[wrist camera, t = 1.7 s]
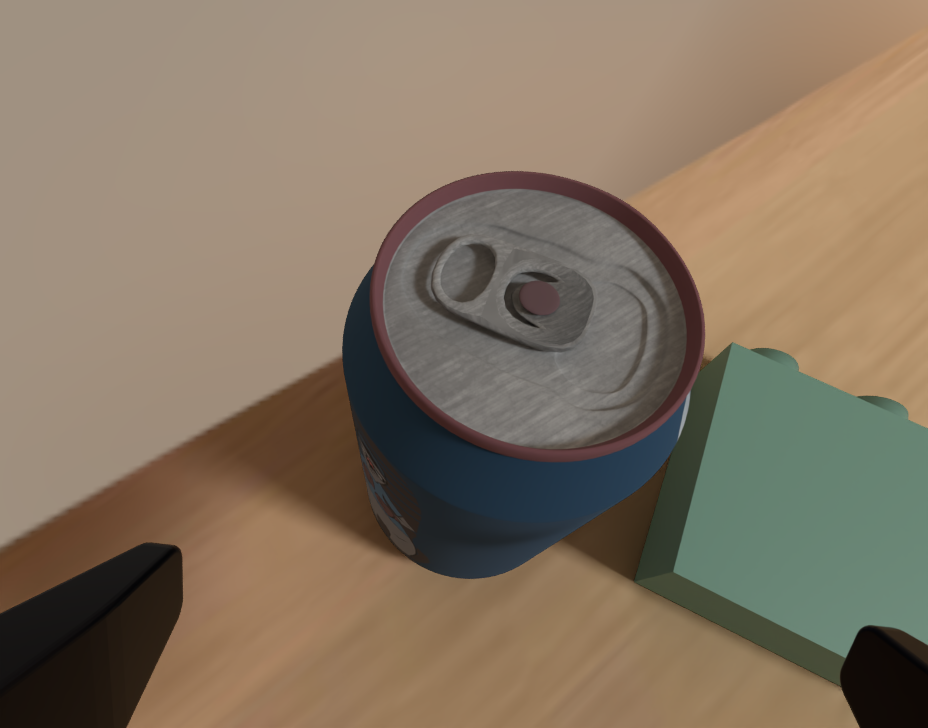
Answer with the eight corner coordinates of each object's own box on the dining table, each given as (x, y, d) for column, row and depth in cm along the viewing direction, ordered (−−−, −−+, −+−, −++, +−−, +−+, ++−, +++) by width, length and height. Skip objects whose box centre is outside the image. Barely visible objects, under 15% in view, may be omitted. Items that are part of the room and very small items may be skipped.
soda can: (579, 436, 21) (765, 225, 10) (521, 618, 18) (706, 582, 7) (417, 368, 21) (436, 103, 11) (333, 532, 18) (241, 380, 8)
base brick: (889, 710, 18) (976, 723, 15) (633, 582, 18) (673, 572, 16) (904, 447, 22) (972, 420, 20) (699, 355, 23) (738, 318, 21)
